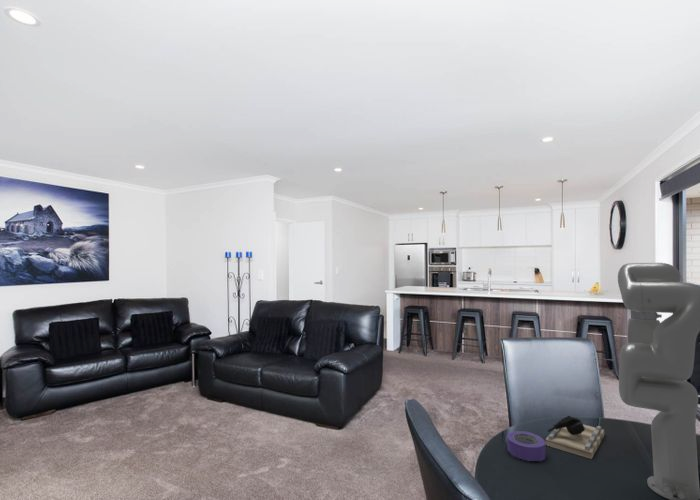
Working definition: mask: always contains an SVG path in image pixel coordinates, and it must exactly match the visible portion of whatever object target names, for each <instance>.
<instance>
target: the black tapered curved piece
mask: <svg viewBox="0 0 700 500" xmlns="http://www.w3.org/2000/svg"><path fill="white" fill-rule="evenodd" d="M583 425H584V424H583V422H582V420H581V419H579V418H578V417H574V416H571V415H567V416H565V417H563V418H561V419H560V420H559V421H558V422H557V423H555V424H553V427H551V428H550V429H548V430H547V431H548V432H549V433H551V432H552V431H553V430H554V429H556V430H558V429H559V428H560V429H561V428H562V427H563V428H564V427H566V428H567V430H568V432H569V433H570V434H572V435H579V436H580V437H581V438H582V439H583V436H582V435H581V433H582V432H583V431H584V430H585V428H584V426H583Z"/></svg>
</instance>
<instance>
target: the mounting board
mask: <svg viewBox="0 0 700 500" xmlns="http://www.w3.org/2000/svg"><path fill="white" fill-rule="evenodd" d="M583 426H584V428H585V430H584V431H583V432H582V433H581V435H582V436H583V439H582V438H581V437H580V436H579V435H572V434H570V433H569V432H568V430H567V428H566V427H564V428H563V427H562V428H561V429H560V428H559V429H558V430H556V429H554V430H552V431H550V432H549V435H547V437H546V438H545V440H544V441H545V446H546V445H547V447H549V446H550V448H554V449H557V450H559V451H560V450H561V451H563V452H566V453H570V454H573V455H576V456H580V457H583V458H587V459H589V460H592V459H594V455H595V453H596V452H597V451H598V448H599V446H600V445H601V443H602V440H603V439H604V438H605V435H606V433H605V429H604V428H603V429H602V426H600V425H597V426H596V427H594V426H592V425H591V426H590V425H587V424H583Z"/></svg>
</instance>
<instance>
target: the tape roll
mask: <svg viewBox="0 0 700 500" xmlns="http://www.w3.org/2000/svg"><path fill="white" fill-rule="evenodd" d="M506 438H507V442H506V443H507V444H506V445H507V452H508V451H509V452H510V453H511V454H512V455H514V456H516V457H518V458H520V459H523V460H522V461H524V460H528V461H527V462H529V461H540V462H543V461H545V459H546V458H545V457H546V445H545V440H544V439H543V437H541V436H540V435H537V434H535V433H532V432H529V431H522V430H521V431H520V430H519V431H518V430H517V431H511V432H508V434H507V437H506ZM509 452H508V453H509ZM510 453H509V454H510ZM511 454H510V455H511ZM512 455H511V456H512ZM514 456H513V457H514ZM516 457H515V458H516ZM518 458H517V459H518ZM520 459H519V460H520ZM542 460H543V461H542Z"/></svg>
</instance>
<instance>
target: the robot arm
mask: <svg viewBox="0 0 700 500" xmlns="http://www.w3.org/2000/svg"><path fill="white" fill-rule="evenodd" d="M681 276H682V275H681V273H680V271H679V270H678V268H677V267H676V266H674V265H672V264H669V263H665V262H629V263H625V264H623V265H622V266H620V268H619V270H618V273H617V283H618V284H617V285H618V288H619V291H620V295H621V299H622V303H623V305H624V308H626V309H627V310H629V311H630V317H629V318H628V322H627V337H626V338H627V343H624V344H623V345H622V347H620V351H619V357H618V359H619V363H618V366H619V367H618V372H619V373H618V392H619V393H618V394H619V397H620V399H621V401H622V402H623V403H624V404H626V405H627V406H630V407H634V408H640V409H646V410H653V411H654V410H655V411H658V413H657V414H656V415H655V416H654V418H653V419H652V420H651V425H650V431H651V433H650V434H651V449H652V467H653V468H652V469H653V475H651V476H649V477H648V478H647V486H648V487H649V488H650V490H651V491H653V492H654V493H656V494H657V495H659V496H660V497H663V498H664V499H667V500H700V480H699V467H698V466H699V463H698V449H697V448H698V447H697V445H698V444H697V432H696V431H697V430H696V425H697V423H696V420H697V412H698V404H699V394H698V391H697V389H696V387H695V386H694V385H693V384H692V383H690V382H689V381H687V380H689V379H690V378H691V377H692V375H693V371H694V364H695V353H696V342H697V337H698V334H699V333H700V285H698V284H695V283H691V282H684V281H681V278H682V277H681ZM662 313H666V314H667V313H669V314H670V313H671V315H669V316H668V317H667V318H665V319H664V320H662V321H661V322H660V320H659V318H662V316H663V315H662Z"/></svg>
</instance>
